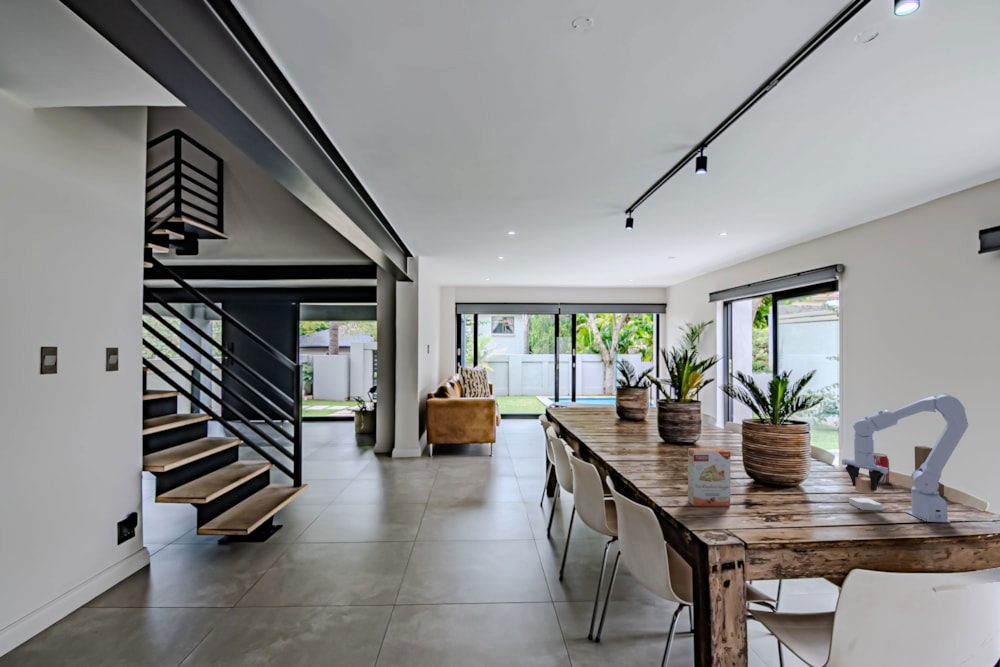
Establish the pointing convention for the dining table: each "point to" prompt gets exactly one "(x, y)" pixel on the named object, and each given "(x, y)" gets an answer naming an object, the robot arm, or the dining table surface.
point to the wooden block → (921, 457)
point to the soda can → (884, 462)
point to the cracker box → (709, 477)
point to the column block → (863, 485)
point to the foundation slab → (865, 504)
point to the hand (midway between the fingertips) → (864, 488)
